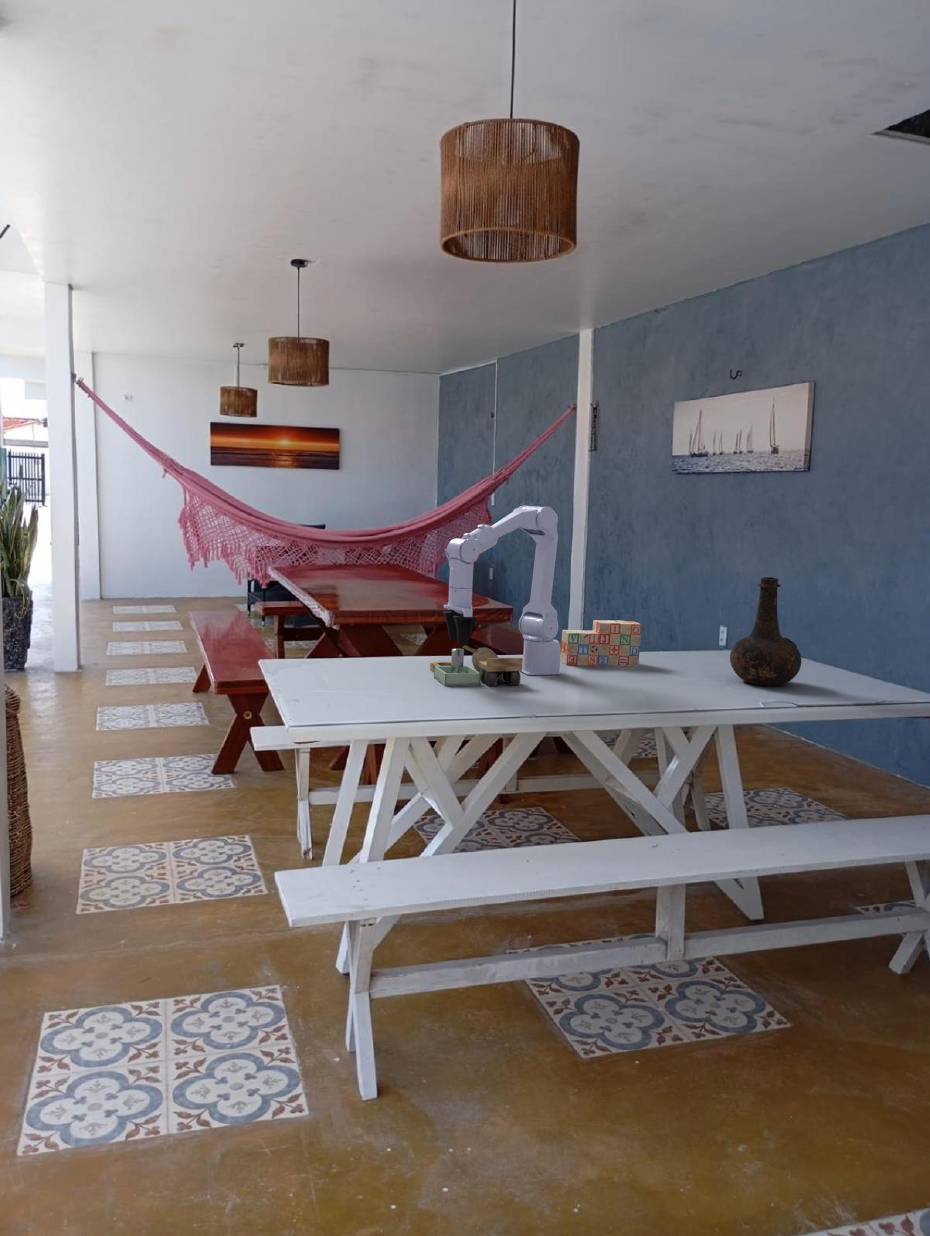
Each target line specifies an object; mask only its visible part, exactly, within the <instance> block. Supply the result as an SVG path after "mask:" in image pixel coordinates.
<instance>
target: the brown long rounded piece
mask: <svg viewBox="0 0 930 1236" xmlns="http://www.w3.org/2000/svg"><path fill="white" fill-rule="evenodd" d="M487 658H500V657H499V656H498V655H497V654H496V653H495V651H493V650H492V649H490V648H488V647H485V646H484V647H479V648H477V649H475V650H474V652H472V656H471V663H472V665H473V669H475V670H476V671H478V672H479V673H480V669H481V667H479V662H483V661H487ZM502 672H503V671H496V673H497V679H498V678H500V677H502Z"/></svg>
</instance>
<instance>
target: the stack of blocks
mask: <svg viewBox="0 0 930 1236" xmlns="http://www.w3.org/2000/svg"><path fill="white" fill-rule="evenodd" d="M592 623H593V624H592V630H586V629H585V630H583V629H562V633H561V642H560V648H561V655H560V663H563V664H564V665H565V666H594V667H595V666H596V667H597V666H599V667H600V666H602V667H605V666H607V665H640V663H639V662H640V650H641V643H642V642H641V640H642V639H641V638H642V635H641V633H642V624H641V623H639V622H637V621H630V620H629V621H627V620H622V619H621V620H618V619H617V620H615V619H614V620H601V619H600V620H599V619H593V622H592ZM604 665H605V666H604ZM607 667H608V666H607Z"/></svg>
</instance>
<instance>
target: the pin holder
mask: <svg viewBox="0 0 930 1236" xmlns="http://www.w3.org/2000/svg"><path fill="white" fill-rule="evenodd" d="M434 666H451V661H430V662H429V670H430V671H431V670H432V671H431V672H433V673H434Z"/></svg>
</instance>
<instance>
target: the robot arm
mask: <svg viewBox="0 0 930 1236" xmlns="http://www.w3.org/2000/svg"><path fill="white" fill-rule="evenodd" d="M558 522H559V516H558V513H556V512H555V511H554V509H553V507H550V506H536V505H535V506H534V505H533V506H532V505H527V504H526V505H521V506H519V507H516V508H514V509H513V511H512V512H511V513H508V515H506V516H504V517H503V518H501V519H500V520H498V521H497V522H496V523H494V524H493V525H489V524H478V525H476V529H474V530H473V531H471V532H469V533H468V532H466V533H463V536H462V537H461V538H459V537H456V538H453V539H451V540H450V541H449V543H448V544H447V547H446V548H445V549H444V551H445V552H444V553H445V557H446V558H447V560H448V566H449V580H448V581H449V582H448V583H449V584H448V602H447V604H443V608H444V609H447V610H448V611H442V615H443V617H444V619H445V622H446V627H447V631H448V632H447V633H448V637H449V640H450V641H457V643H458V646H467V645H468V644H469V641H470V636H471V633H472V629H473V628H474V625H475V624H476V622H477V620H478V618H477V617H476V616H473V611H474V610H473V609H474V608H473V605H472V604H473V582H474V581H473V579H474V578H473V577H474V562H476V561H477V560H478V558H479V555H480V554H482V553H484V552H486V551H488V549H491V548H492V547H495V546H496V544H497V543H498V541H499V538H500V537H503V536H505V535H507V534H510V533H511V532H513V531H515V530H517V529H520V530H521V531H523V532H524V533H526V534H528V536H530V537H531V538H532V539H533V541H534V542H535V552H534V563H533V570H532V571H533V572H532V580H531V588H530V589H531V591H530V599H529V602H528V603H527V604H526V605H525V606H524V607H523V608H522V612H521V613H522V614H521V616H520V618H519V620H518V630H519V632H520V633H521V634H522V639H523V655H522V656H523V657H522V658H523V664H522V671H520V673H521V672H522V673H523V674H525V675H527V676H535V675H537V676H540V675H541V676H542V675H561V673H562V672H560V669H561V642H560V641H559V640H558V639H555V638H556V636H557V634H558V632H559V627H560V626H559V621H558V611H557V610H556V608H554V606H553V604H552V595H553V587H554V577H555V568H556V558H557V552H558V551H557V549H558V540H559V535H558V530H557V529H558Z"/></svg>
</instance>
